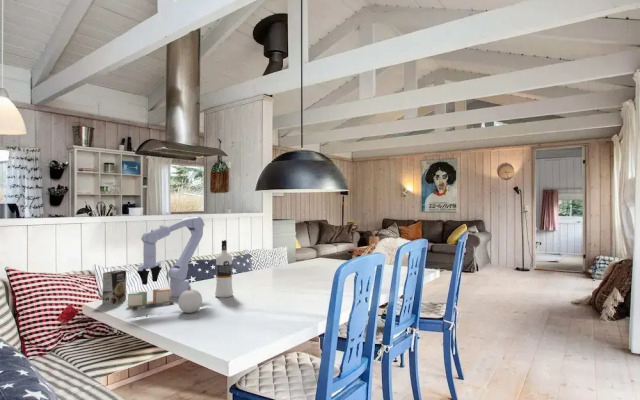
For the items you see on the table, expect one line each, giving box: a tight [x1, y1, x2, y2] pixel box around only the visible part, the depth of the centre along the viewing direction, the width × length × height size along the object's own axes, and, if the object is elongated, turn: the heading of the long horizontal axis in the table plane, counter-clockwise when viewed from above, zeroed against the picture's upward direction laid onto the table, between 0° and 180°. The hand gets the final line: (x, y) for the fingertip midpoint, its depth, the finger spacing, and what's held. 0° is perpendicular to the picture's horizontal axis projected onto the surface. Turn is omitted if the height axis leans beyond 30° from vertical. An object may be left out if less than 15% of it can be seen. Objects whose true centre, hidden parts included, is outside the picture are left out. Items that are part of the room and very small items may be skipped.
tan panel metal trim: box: [127, 300, 174, 311], centre depth 184 cm, size 18×13×3 cm
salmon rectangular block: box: [152, 287, 171, 303], centre depth 189 cm, size 4×7×6 cm, turn 127°
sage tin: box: [127, 291, 148, 308], centre depth 182 cm, size 4×7×6 cm, turn 92°
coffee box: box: [102, 269, 127, 305], centre depth 190 cm, size 9×6×16 cm
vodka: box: [214, 239, 234, 299], centre depth 206 cm, size 9×9×30 cm
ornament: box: [177, 285, 203, 314], centre depth 174 cm, size 10×10×12 cm
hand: (149, 282), depth 193 cm, fingers open, 7 cm apart
